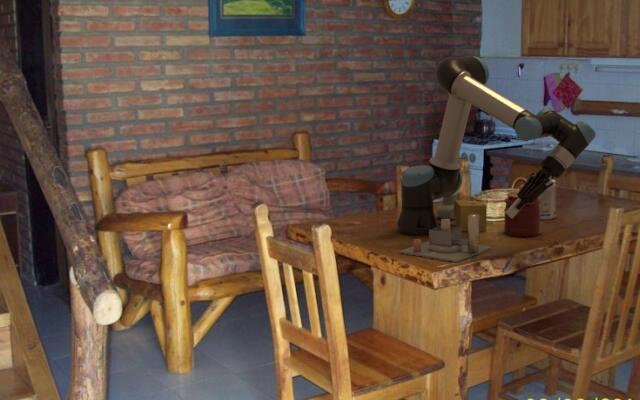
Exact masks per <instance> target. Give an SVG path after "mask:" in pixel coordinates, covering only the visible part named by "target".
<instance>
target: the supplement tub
mask: <svg viewBox="0 0 640 400" xmlns="http://www.w3.org/2000/svg"><path fill="white" fill-rule="evenodd" d="M551 181H552V182H553V185H552V186H550V187H549V188H547V189H546V190H545V191H544V192H543V193H542V194H541V195H539V196H538V199H540V200H541V203H540V209H541V217H540V220H552V219H555V217H556V207H557V202H556V201H557V199H556V198H557V180H556V179H554V178H553V179H552V180H551Z"/></svg>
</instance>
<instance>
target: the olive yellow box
mask: <svg viewBox="0 0 640 400" xmlns="http://www.w3.org/2000/svg"><path fill="white" fill-rule="evenodd" d="M469 214H478V215H479V232H486V231H487V204H486V203H485V202H483V201H475V200H466V199H465V200H464V199H458V200H455V201H454V217H455V220H454V222H455V223H454V224H455V226H454V227H459V228H462V233H463V232H468V215H469Z"/></svg>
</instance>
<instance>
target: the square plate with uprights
mask: <svg viewBox="0 0 640 400" xmlns="http://www.w3.org/2000/svg"><path fill="white" fill-rule="evenodd" d="M440 225H441V230H448V231H449V230H450V226H451V220H450V219H443V218H441V219H440ZM491 250H492V246H487V245H486V246H485V245H480V244H479V252H474V253H473V252H468V246H467V245H459V244H454V245H452V246H448V245H440V244H432V243H429V240H428V241H424V242H422V239H420V238H414V239H413V246H409V247H407V248H405V249H401V250H399V251H398V252H399V254H400V253H404V254H403V255H406V254H410V255H409V256H412V255H416V256H415V257H418V256H422V257H421V258H424V257H427V258H426V259H430V258H434V259H433V260H436V259H440V260H439V261H441V260H446V261H445V262H447V261H452V262H451V263H453V262H458V263H460V262H459V261H461V262H463V261H465V260H464V259H466V260H468V259H471V258H473V257H475V256H474V255H476V256H478V255H481V254H483V253H486V252H488V251H491ZM480 253H481V254H480ZM477 254H478V255H477ZM472 256H473V257H472ZM470 257H471V258H470ZM467 258H468V259H467ZM462 260H463V261H462Z"/></svg>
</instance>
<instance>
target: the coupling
mask: <svg viewBox="0 0 640 400" xmlns="http://www.w3.org/2000/svg"><path fill="white" fill-rule="evenodd" d="M462 235H463V232H462V228H459V227H456V226H451V225H450V230H449V231H448V230H441V224H440V225H438V226H437V227H435V228H432V229H430V230H429V234H428V241H429V243H432V244H440V245H448V246H452V245H454V244H459V245H467V246H468V252H473V253H474V252H479V245H480V231H479V215H478V214H469V215H468V231H467V239H466V238H463V236H462Z"/></svg>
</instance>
